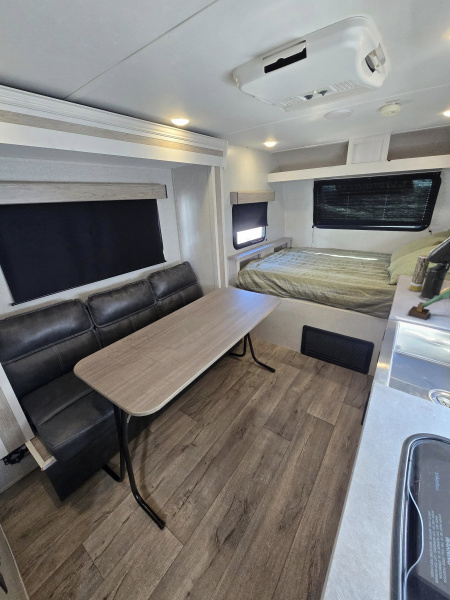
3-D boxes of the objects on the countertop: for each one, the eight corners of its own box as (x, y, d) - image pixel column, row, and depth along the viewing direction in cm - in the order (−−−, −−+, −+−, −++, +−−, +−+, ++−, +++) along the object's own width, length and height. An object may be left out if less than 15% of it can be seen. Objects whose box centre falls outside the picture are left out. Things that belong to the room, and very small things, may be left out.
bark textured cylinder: (416, 288, 178) (426, 255, 168) (423, 291, 172) (433, 257, 162) (407, 288, 179) (416, 255, 169) (412, 291, 173) (422, 257, 163)
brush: (417, 302, 141) (452, 284, 127) (422, 308, 140) (458, 290, 126) (415, 305, 138) (450, 286, 124) (420, 311, 137) (457, 292, 123)
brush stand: (411, 310, 146) (415, 299, 143) (428, 314, 140) (432, 303, 138) (407, 315, 140) (411, 304, 138) (425, 319, 135) (428, 308, 132)
